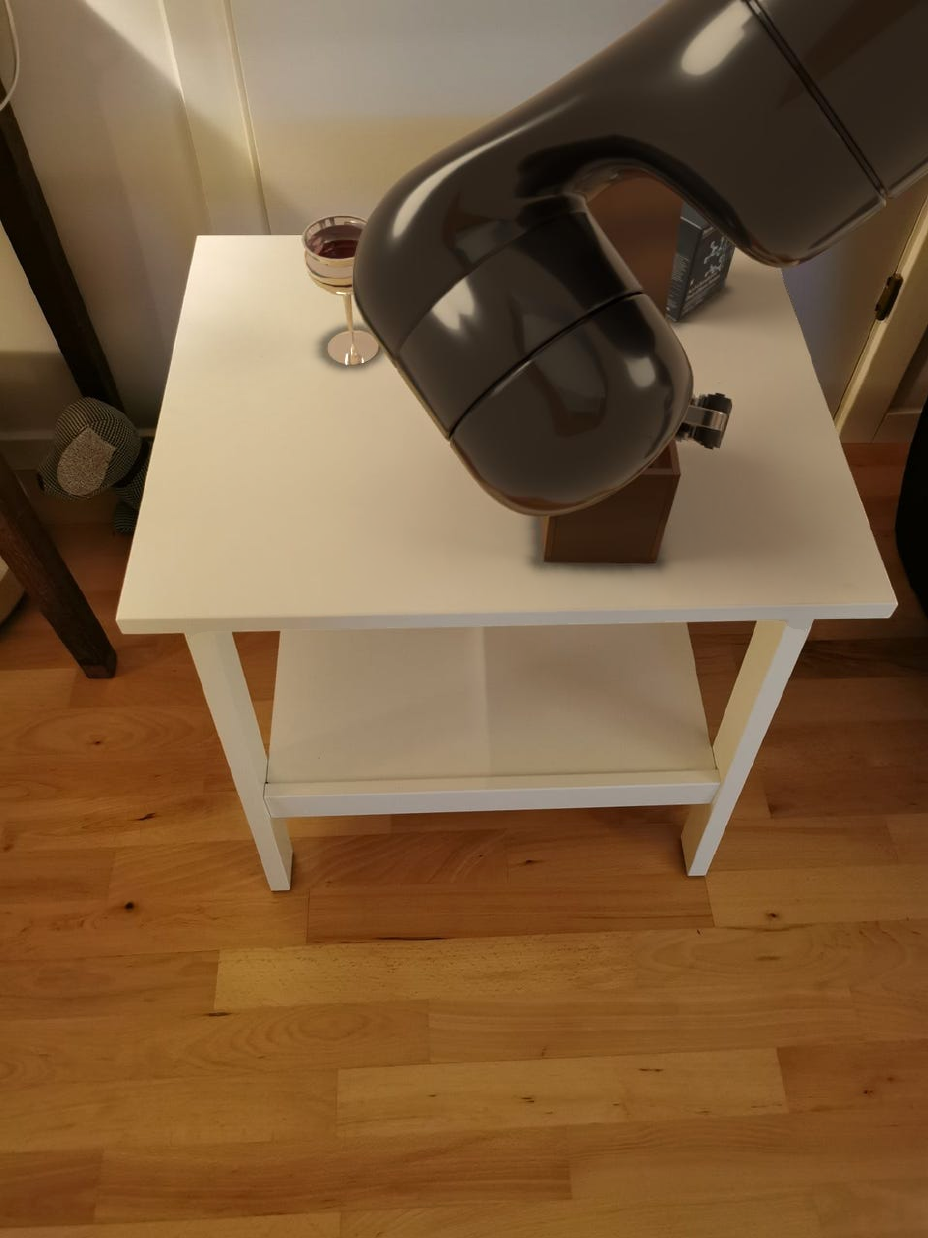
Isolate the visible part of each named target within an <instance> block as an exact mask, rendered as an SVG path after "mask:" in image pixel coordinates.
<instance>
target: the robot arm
mask: <svg viewBox="0 0 928 1238" xmlns="http://www.w3.org/2000/svg"><path fill="white" fill-rule="evenodd" d="M927 174H928V0H667V1H665V2H664V3H663V4H662V5H660V6H659V7H658V8H657V9H656V10H654V11H653V12H652V13H650V14H649V15H648V16H646V17H645V18H644V19H643V20H641V21H640V22H639V23H637V24H636V25H635V26H634V27H632V28H631V29H630V30H628V31H626V33H624V34H622V35H621V36H620V37H618V38H617V39H616V40H614V41H613V42H611V43H609V45H607V46H606V47H604V48H603V49H602V50H600V51H598V52H597V53H596V54H594V55H593V56H591V57H590V58H589V59H587V60H586V61H584V62H583V63H581V64H580V65H578V66H576V67H575V68H574V69H572V70H571V71H569V72H567V73H566V74H565V75H563V76H562V77H561V78H559V79H558V80H556V81H554V82H553V83H551V84H550V85H549V86H547V87H546V88H544V89H542V90H541V91H539V92H537V93H536V94H534V95H532V96H531V97H529V98H527V99H526V100H524V101H523V102H521V103H520V104H518V105H517V106H514V107H513V108H511V109H510V110H508V111H506V112H505V113H503V114H501V115H499V116H498V117H496V118H494V119H492V120H491V121H489V122H487V123H485V124H484V125H482V126H480V127H478V128H477V129H474V130H473V131H471V132H469V133H468V134H466V135H464V136H462V137H460V138H458V139H457V140H455V141H453V142H451V144H449V145H447V146H445V147H444V148H442V149H440V150H437V152H435V153H434V154H432V155H430V156H429V157H428V158H426V159H424V160H423V161H422V162H420V163H419V164H417V165H416V166H415V167H413V168H412V169H410V170H409V171H407V172H406V173H405V174H404V175H402V176H401V177H400V178H399V179H398V180H397V181H396V182H394V183H393V184H392V186H391V187H389V189H388V190H386V192H384V193H383V195H382V197H381V198H380V199H379V200H378V201H377V203H376V205H375V206H374V207H373V209H372V210H371V212H370V214H369V216H368V218H367V219H366V220H367V222H366V224H365V226H364V228H363V230H362V233H361V236H360V239H359V242H358V245H357V248H356V252H355V257H354V263H353V269H352V292H353V295H352V296H353V297H352V298H353V300H354V301H353V302H354V304H355V308H356V309H357V311H358V313H359V316H360V317H361V320H362V321H363V324H364V325H365V326H366V329H367V330H368V331H369V334H371V335H372V336H373V337H374V339H375V340H376V342H377V343H378V345H379V347H380V349H381V350H382V352H383V353H384V354H385V356H386V357H387V359H388V360H389V361H390V363H391V364H392V366H393V367H394V368H395V369H396V370H397V373H398V374H399V375H400V378H402V380H403V381H404V382H405V383H404V384H406V385H407V387H408V388H409V389H410V391H411V393H412V394H413V395H414V397H415V398H416V400H417V401H418V402H419V404H420V405H421V407H422V408H423V409H424V411H425V412H426V414H427V415H428V417H429V418H430V419H431V421H432V422H433V424H434V425H435V427H436V428H437V429H438V431H439V432H440V434H441V435H442V436H443V438H444V439H445V440H446V441H447V442H449V447H450V448H451V451H453V453H454V454H455V456H456V457H457V459H458V460H459V462H460V463H461V464H462V466H463V467H464V469H465V470H466V471H467V472H468V474H469V475H470V476H471V478H472V479H473V480H474V481H475V482H476V484H477V486H478V487H480V488H481V489H482V490H483V491H484V492H485V493H486V494H487V495H488V496H489V497H490V498H492V499H493V500H494V501H495V502H496V503H498V504H499V505H500V506H503V507H504V508H506V509H508V510H509V511H512V512H513V513H517V514H519V515H522V516H527V517H537V518H539V517H540V518H541V517H548V516H555V515H562V514H567V513H570V512H574V511H577V510H580V509H584V508H586V507H588V506H591V505H593V504H595V503H597V502H599V501H601V500H603V499H605V498H607V497H609V496H610V495H612V494H614V493H615V492H617V491H618V490H620V489H621V488H623V487H624V486H626V485H627V484H628V483H630V482H631V481H632V480H634V479H635V478H636V477H637V476H639V475H640V474H641V473H642V472H643V471H644V470H645V469H646V468H647V467H648V466H650V465H651V464H652V463H653V462H654V460H655V459H656V458H657V457H658V456H659V455H660V454H661V453H662V451H663V450H664V449H665V448H666V446H667V445H668V444H669V442H670V441H671V440H672V438H674V439H673V440H674V441H676V442H679V443H682V442H683V441H686V442H689V441H693V442H696V443H697V444H699V446H703V448H704V449H707V450H712V451H713V450H714V448H715V449H721V446H722V442H723V439H724V436H725V433H726V430H727V427H728V422H729V419H730V415H731V413H732V410H733V401H732V399H731V398H729V397H726V394H725V393H720V392H715V393H714V394H712V393H707V394H704V393H700V394H699V395H698V397H696V394H694V389H695V387H694V386H695V385H694V384H695V383H694V382H695V381H694V380H695V379H694V377H695V376H694V373H693V367H692V365H691V362H690V360H689V357H688V354H687V352H686V350H685V349H684V347H683V345H682V343H681V341H680V339H679V338H678V336H677V334H676V333H675V331H674V330H673V328H672V327H671V325H670V324H669V322H668V320H667V319H666V317H665V318H664V316H663V315H662V313H661V312H660V311H659V309H658V308H657V306H656V305H655V303H654V302H653V300H652V299H651V297H650V296H648V295H647V294H645V289H644V287H643V286H642V285H641V283H640V282H639V280H638V279H637V278H636V276H635V275H634V273H633V272H632V271H631V269H630V268H629V266H628V265H627V264H626V262H625V261H624V259H623V258H622V257H621V255H620V254H619V252H618V251H617V249H616V248H615V247H614V245H613V244H612V242H611V241H610V240H609V238H608V237H607V235H606V234H605V233H604V231H603V230H602V228H601V227H600V226H599V224H598V223H597V221H596V220H595V218H594V217H593V216H592V214H591V212H590V210H589V208H588V206H587V205H588V204H589V203H590V202H591V201H592V200H593V199H595V198H596V197H597V196H598V195H599V194H601V193H602V192H604V191H605V190H607V189H608V188H610V187H612V186H614V185H616V184H619V183H621V182H624V181H628V180H632V179H636V178H649V179H652V180H654V181H657V182H659V183H661V184H662V185H664V186H665V187H667V188H668V189H669V190H671V191H672V192H674V193H675V194H676V195H678V196H679V197H680V198H681V199H682V200H684V201H685V202H686V203H687V204H688V205H689V206H690V207H692V208H693V209H694V210H695V211H696V212H697V213H698V214H699V215H700V216H702V217H703V218H704V219H705V220H706V221H707V222H708V223H709V224H710V225H711V226H712V227H713V228H714V229H715V230H716V231H718V232H719V233H720V234H721V235H722V236H723V237H724V238H725V239H726V240H727V241H729V242H730V243H731V244H732V245H733V246H735V249H738V251H740V252H742V253H743V254H744V255H746V256H747V257H748V258H750V259H752V260H753V261H755V262H757V263H759V264H761V265H763V266H767V267H771V268H776V269H784V268H793V267H796V266H799V265H802V264H804V263H806V262H808V261H811V260H812V259H814V258H816V257H817V256H819V255H821V254H823V253H824V252H825V251H827V250H829V249H831V248H832V247H833V246H835V245H836V244H837V243H839V242H840V241H842V240H843V239H844V238H846V237H847V236H848V235H850V234H851V233H852V232H854V231H855V230H856V229H857V228H859V227H860V226H862V225H863V224H864V223H865V222H866V221H868V220H869V219H870V218H871V217H872V216H874V215H875V214H876V213H878V212H879V211H880V210H881V209H883V208H884V207H886V205H887V201H886V198H885V197H887V198H888V199H889V200H895V199H896V198H897V197H898V196H900V195H901V194H902V193H904V192H905V191H906V190H907V189H909V188H910V187H911V186H913V185H914V184H916V183H917V182H918V181H919V180H920V179H922V178H923V177H924V176H926V175H927Z"/></svg>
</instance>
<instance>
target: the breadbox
mask: <svg viewBox="0 0 928 1238" xmlns="http://www.w3.org/2000/svg"><path fill="white" fill-rule="evenodd" d="M673 439H674V438H672V440H671V441H670V442H669V444H668V445H667V446H666V448H665V449H664V450H663V451H662V453H661V454H660V455H659V456H658V457H657V458H656V459H655V460H654V462H653V463H652V464H651V465H650V466H648V467H647V468H646V469H645V470H644V471H643V472H642V473H641V474H640V475H639V476H637V477H636V478H635V479H634V480H632V481H631V482H630V483H628V484H627V485H626V486H624V487H623V488H621V489H620V490H618V491H617V492H615V493H614V494H612V495H610V496H609V497H607V498H605V499H603V500H601V501H599V502H597V503H595V504H593V505H591V506H588V507H586V508H584V509H580V510H577V511H574V512H570V513H567V514H562V515H555V516H548V517H540V520H541V521H540V522H541V523H540V524H541V540H542V541H541V542H542V560H543V562H547V563H548V562H549V563H550V562H551V563H553V562H554V563H555V562H556V563H558V562H560V563H561V562H562V563H564V562H565V563H652V564H653V563H656V562H657V559H658V555H659V552H660V548H661V545H662V542H663V538H664V535H665V531H666V527H667V525H668V521H669V518H670V515H671V510H672V507H673V505H674V504H673V503H674V500H675V497H676V494H677V490H678V488H679V487H678V486H679V483H680V481H681V480H680V479H681V476H682V472H681V465H680V458H679V452H678V447H677V441H674V440H673Z"/></svg>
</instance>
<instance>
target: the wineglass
mask: <svg viewBox="0 0 928 1238" xmlns="http://www.w3.org/2000/svg"><path fill="white" fill-rule="evenodd" d="M367 220H368V219H366V218H364V217H361V216H358V215H354V214H345V213H344V214H343V213H341V214H340V213H339V214H338V213H337V214H331V215H325V216H324V217H321V218H319V219H315V220H314V221H313V222H312V223H310V224H308V225H307V226H306V228H305V229H304V230H303V231H302V236H301V244H302V246H303V248H304V253H303V261H304V265H305V267H306V271H307V273H308V276H309V277H310V279H311V281H312V282H313V283H314V284H315V285H316V286H317V287H319V288H320V289H323V290H324V291H326V292H328V293H329V294H332V295H335V296H340V297H342V299H343V306H344V311H345V316H346V324H347V328H348V330H346V331H342V332H340V333H337V334H336V335H335V336H334V337H332V338H331V339H330V341H329V342H328V344H327V352H328V356H330V358H331V359H332V360H334V361H335V362H337V363H339V364H343V365H349V366H351V365H353V366H355V365H360V364H364V363H366V362H368V361H370V360H372V359H373V358H374V357H375V356H376V355H377V353H378V352H379V347H380V346H379V344H378V343H377V342H376V340H375V339H374V337H373V336H372V334H371V333H370V332H369V333H368V332H367V331H363V330H354V317H353V301H352V296H353V292H352V269H353V263H354V257H355V252H356V248H357V245H358V242H359V239H360V236H361V233H362V230H363V228H364V226H365V224H366V222H367Z"/></svg>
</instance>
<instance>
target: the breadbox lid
mask: <svg viewBox="0 0 928 1238" xmlns="http://www.w3.org/2000/svg"><path fill="white" fill-rule="evenodd" d="M587 206H588V208H589V210H590V212H591V214H592V216H593V217H594V218H595V220H596V221H597V223H598V224H599V226H600V227H601V228H602V230H603V231H604V233H605V234H606V235H607V237H608V238H609V240H610V241H611V242H612V244H613V245H614V247H615V248H616V249H617V251H618V252H619V254H620V255H621V257H622V258H623V259H624V261H625V262H626V264H627V265H628V266H629V268H630V269H631V271H632V272H633V273H634V275H635V276H636V278H637V279H638V280H639V282H640V283H641V285H642V286H643V287H644V289H645V294H647V295H648V296H650V297H651V299H652V300H653V302H654V303H655V305H656V306H657V308H658V309H659V311H660V312H661V313H662V315H663V316H664V318H665V319H666V317H667V316H666V309H667V303H668V296H669V290H670V283H671V277H672V271H673V264H674V258H675V251H676V245H677V238H678V232H679V225H680V219H681V213H682V206H683V200H682V199H681V198H680V197H679V196H678V195H676V194H675V193H674V192H672V191H671V190H669V189H668V188H667V187H665V186H664V185H662V184H661V183H659V182H657V181H654V180H652V179H649V178H636V179H632V180H628V181H624V182H621V183H619V184H616V185H614V186H612V187H610V188H608V189H607V190H605V191H604V192H602V193H601V194H599V195H598V196H597V197H596V198H595V199H593V200H592V201H591V202H590V203H589V204H588V205H587Z"/></svg>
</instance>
